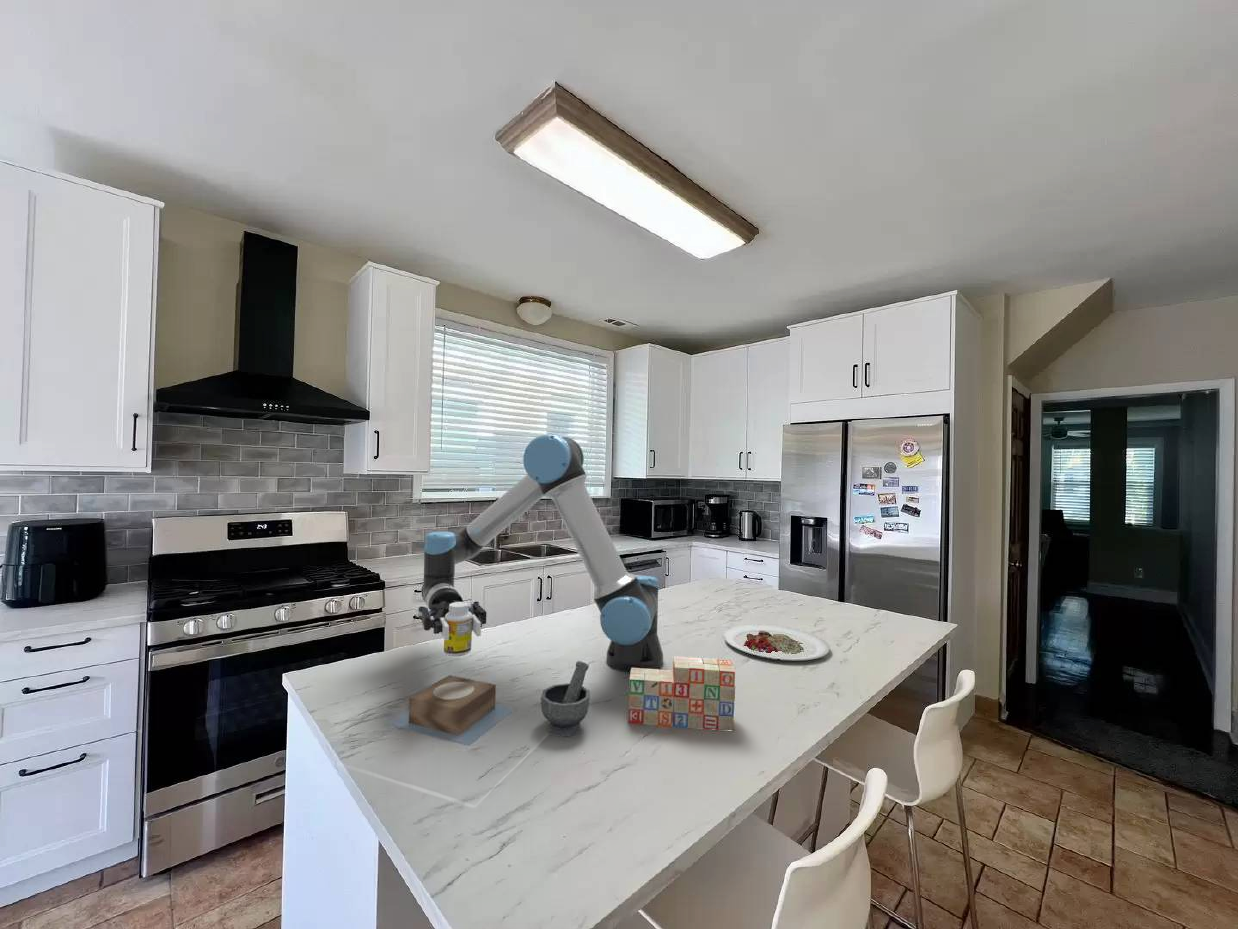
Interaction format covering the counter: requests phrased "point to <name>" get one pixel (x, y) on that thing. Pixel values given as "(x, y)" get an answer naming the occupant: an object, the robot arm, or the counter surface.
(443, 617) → the robot arm
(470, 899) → the counter surface
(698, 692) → the stack of blocks
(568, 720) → the mortar and pestle
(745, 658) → the counter surface
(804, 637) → the plated food
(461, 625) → the supplement bottle
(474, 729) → the mat
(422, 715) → the foundation block
